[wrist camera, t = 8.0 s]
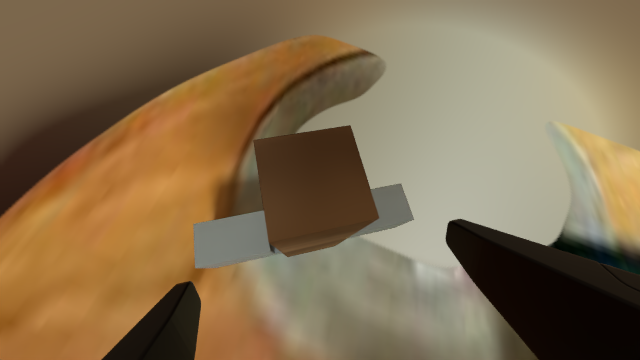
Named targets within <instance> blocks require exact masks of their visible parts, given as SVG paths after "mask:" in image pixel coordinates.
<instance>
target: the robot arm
mask: <svg viewBox="0 0 640 360" xmlns="http://www.w3.org/2000/svg"><path fill="white" fill-rule="evenodd" d="M446 243H447V245H448V247H449V248H450V249H451V251H452V252H453V254H454V255H455V257H456V258H457V259H458V261H459V262H460V264H461V265H462V267H463V268H464V269H465V271H466V272H467V274H468V275H469V277H470V278H471V279H472V281H473V282H474V283H475V284H476V286H477V287H478V288H479V289H480V290H481V292H482V293H483V294H484V295H485V296H486V298H487V299H488V300H489V301H490V302H491V303H492V305H493V306H494V307H495V308H496V309H497V311H498V312H499V313H500V314H501V315H502V317H503V318H504V319H505V320H506V321H507V322H508V324H509V325H510V326H511V327H512V328H513V330H514V331H515V332H516V333H517V334H518V335H519V337H520V338H521V339H522V340H523V341H524V343H525V344H526V345H527V346H528V347H529V349H530V350H531V351H532V352H533V353H534V354H535V356H536V357H537V358H538V359H539V360H640V275H637V274H634V273H631V272H627V271H624V270H621V269H618V268H615V267H612V266H608V265H605V264H602V263H600V264H599V263H598V262H596V261H592V260H589V259H586V258H583V257H580V256H577V255H573V254H570V253H567V252H564V251H561V250H558V249H554V248H551V247H548V246H545V245H542V244H539V243H535V242H532V241H529V240H526V239H523V238H520V237H516V236H513V235H510V234H507V233H504V232H500V231H497V230H494V229H491V228H488V227H485V226H482V225H479V224H475V223H472V222H469V221H466V220H462V219H457V220H452V221H450V222H449V223H448V227H447V233H446ZM200 310H201V300H200V297H199V295H198V293H197V291H196V288H195V286H194V284H193V283H192V282H191V281H187V282H183V283H179V284H176V285H175V286H174V287H173V288H172V289H171V290H170V291H169V292H168V293H167V294H166V295H165V296H164V297H163V298H162V299H161V300H160V301H159V302H158V303H157V304H156V305H155V306H154V307H153V308H152V309H151V310H150V311H149V312H148V313H147V314H146V315H145V316H144V317H143V318H142V319H141V320H140V321H139V322H138V323H137V324H136V325H135V326H134V327H133V328H132V329H131V330H130V331H129V332H128V333H127V334H126V335H125V336H124V337H123V338H122V339H121V340H120V341H119V342H118V343H117V344H116V345H115V346H114V348H113V349H112V350H111V351H110V352H109V353H108V354H107V355H106V356H105V357H104V358H103V359H102V360H194V358H195V351H196V343H197V335H198V326H199V318H200Z"/></svg>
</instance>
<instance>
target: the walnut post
mask: <svg viewBox="0 0 640 360" xmlns="http://www.w3.org/2000/svg"><path fill="white" fill-rule="evenodd" d="M254 147H255V154H256V161H257V167H258V174H259V181H260V188H261V195H262V201H263V208H264V215H265V222H266V229H267V235H268V242H269V243H270V244H271V245H272V246H274V247H275V248H276V249H278V250H279V251H280V252H282V253H283V254H284V255H286V256H287V257H290V256H294V255H299V254H303V253H307V252H311V251H316V250H320V249H324V248H329V247H333V246H336V245H337V244H339V243H340V242H342V241H344V240H345V239H347V238H349V237H350V236H352V235H353V234H355V233H357V232H358V231H360V230H361V229H363V228H365V227H366V226H368V225H369V224H371V223H373V222H374V221H376V220H377V219H379V215H378V212H377V209H376V205H375V202H374V199H373V196H372V193H371V189H370V186H369V183H368V180H367V177H366V173H365V170H364V167H363V164H362V161H361V158H360V155H359V151H358V148H357V145H356V142H355V138H354V136H353V132H352V129H351V126H350V125H349V126H342V127H336V128H329V129H323V130H317V131H310V132H303V133H297V134H290V135H284V136H277V137H271V138H264V139H258V140H254Z"/></svg>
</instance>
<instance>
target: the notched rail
mask: <svg viewBox="0 0 640 360" xmlns="http://www.w3.org/2000/svg"><path fill="white" fill-rule="evenodd" d="M371 193H372V196H373V199H374V202H375V205H376V209H377V212H378V215H379V219H377V220H376V221H374V222H373V223H371V224H369V225H368V226H366V227H365V228H363V229H361V230H360V231H358V232H357V233H355V234H353V235H352V236H350V237H349V238H351V237H355V236H360V235H364V234H368V233H373V232H378V231H382V230H386V229H391V228H395V227H397V226H400V225H402V224H404V223H407V222H409V221H412V220H414V219H413V215H412V213H411V210H410V207H409V204H408V201H407V199H406V196H405V193H404V191H403V188H402V185H401V184H396V185H390V186H385V187H380V188H375V189H371ZM193 225H194V250H195V268H218V267H222V266H227V265H231V264H236V263H240V262H244V261H249V260H253V259H258V258H262V257H267V256H271V255H275V254H280V253H282V252H280V251H279V250H278V249H276V248H275V247H274V246H272V245H271V244H270V243H269V242H268V235H267V229H266V222H265V215H264V210H263V211H258V212H253V213H248V214H242V215H237V216H232V217H227V218H222V219H217V220H212V221H207V222H202V223H196V224H193Z"/></svg>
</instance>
